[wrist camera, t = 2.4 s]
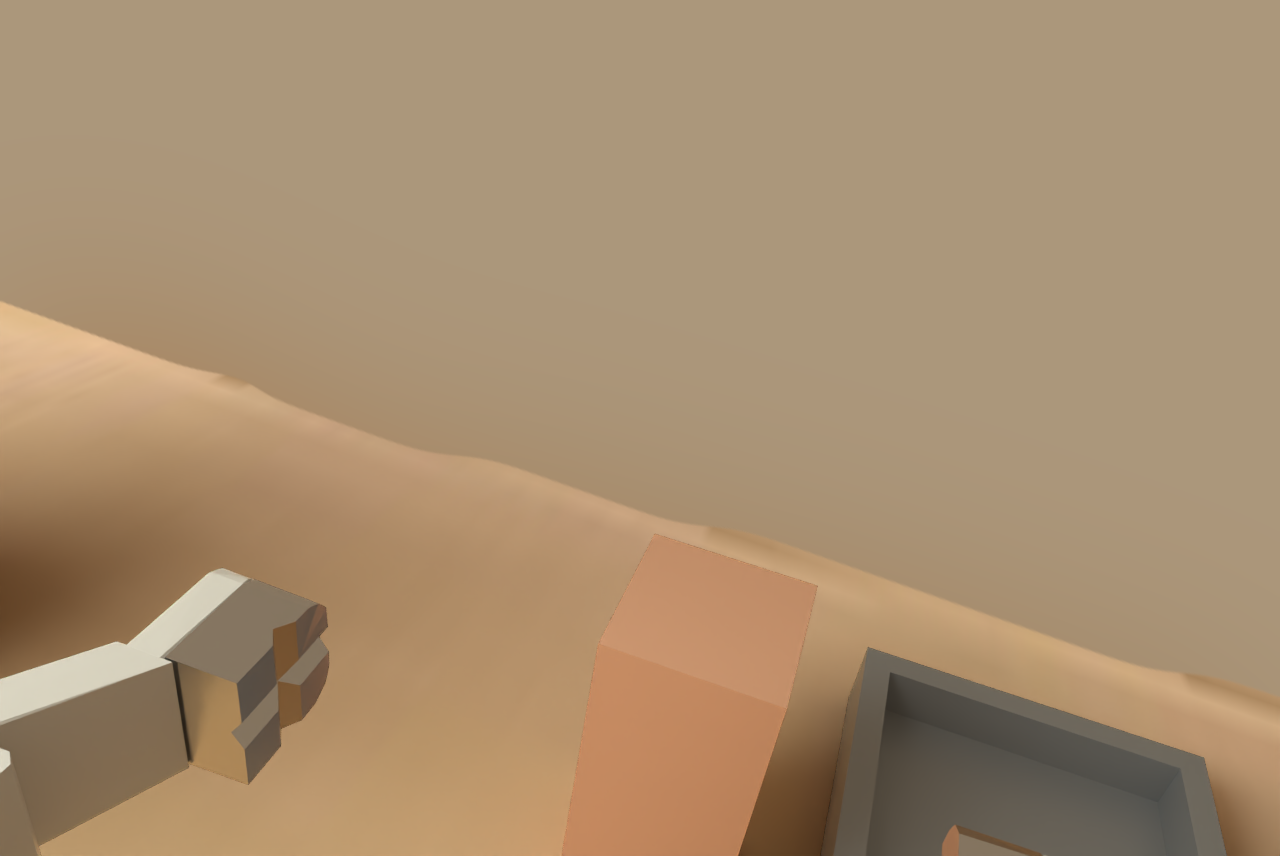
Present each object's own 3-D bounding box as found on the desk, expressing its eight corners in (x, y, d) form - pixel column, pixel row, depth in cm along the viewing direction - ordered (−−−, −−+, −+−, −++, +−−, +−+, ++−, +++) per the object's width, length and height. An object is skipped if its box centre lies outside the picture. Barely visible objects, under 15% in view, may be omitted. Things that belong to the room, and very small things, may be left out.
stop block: (552, 910, 31) (598, 643, 25) (604, 789, 36) (654, 533, 29) (700, 969, 30) (787, 708, 24) (735, 838, 35) (817, 586, 28)
